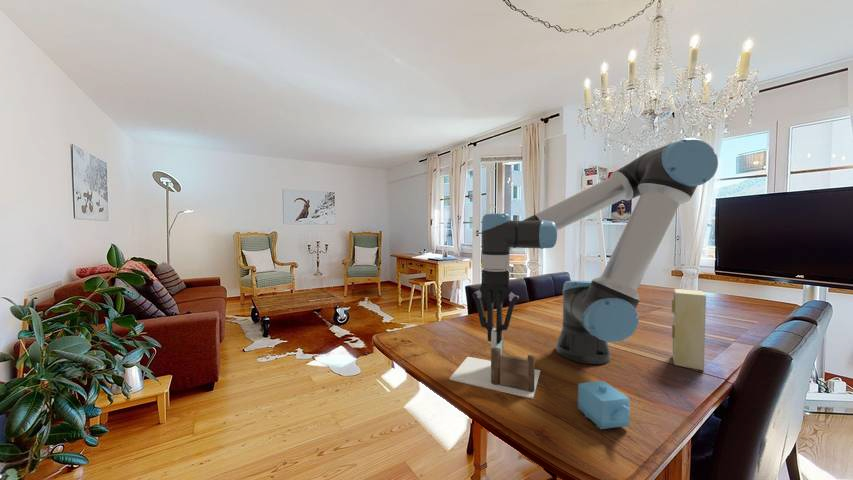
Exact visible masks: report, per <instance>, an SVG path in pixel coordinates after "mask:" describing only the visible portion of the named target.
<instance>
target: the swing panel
mask: <svg viewBox="0 0 853 480" xmlns="http://www.w3.org/2000/svg"><path fill="white" fill-rule="evenodd" d="M496 348H499V349H501V354H504V334H502V340H501V342H500V343H499V342H497V345H496Z"/></svg>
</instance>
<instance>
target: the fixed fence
mask: <svg viewBox="0 0 853 480" xmlns="http://www.w3.org/2000/svg"><path fill="white" fill-rule="evenodd" d="M535 360H536V356H535V355H533V354H528V355H527V358H525V357H521V356H515V355H508V354H504V353H503V354H501V349H499V348H491V347H490V361H491V383H492V384H494V385H498V384H501V385H505V386H510V387H515V388H519V389H524V390H528V391H531V392H534V382H535V367H536V366H535V365H536V364H535V363H536V361H535Z"/></svg>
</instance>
